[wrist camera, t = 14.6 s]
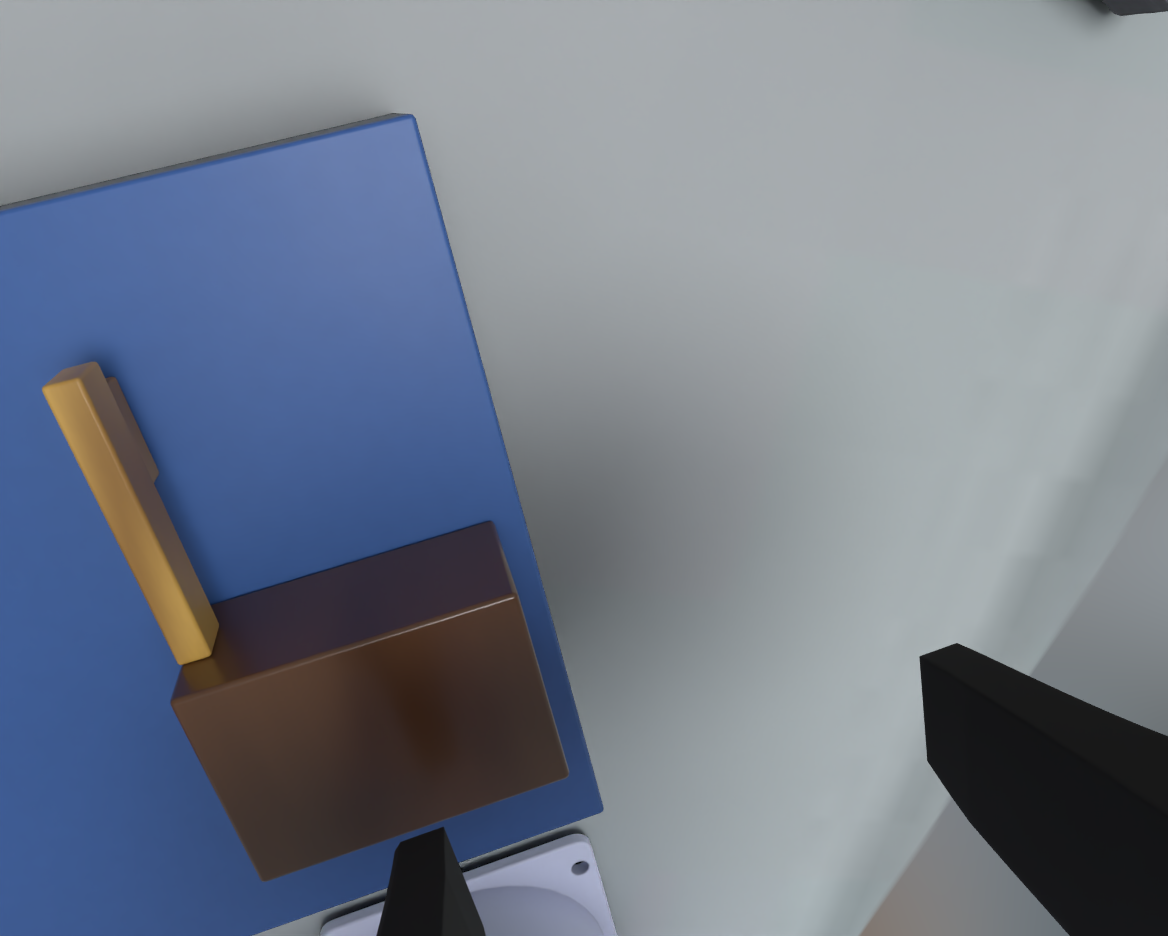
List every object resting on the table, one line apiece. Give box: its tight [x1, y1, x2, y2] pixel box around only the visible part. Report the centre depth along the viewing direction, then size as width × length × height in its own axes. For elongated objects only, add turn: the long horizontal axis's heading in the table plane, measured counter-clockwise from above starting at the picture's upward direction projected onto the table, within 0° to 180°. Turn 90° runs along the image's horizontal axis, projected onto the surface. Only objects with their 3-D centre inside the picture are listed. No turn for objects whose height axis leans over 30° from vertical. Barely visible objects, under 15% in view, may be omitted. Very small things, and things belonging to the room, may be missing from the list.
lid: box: [0, 114, 603, 936], centre depth 15 cm, size 13×14×1 cm
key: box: [42, 362, 569, 882], centre depth 13 cm, size 8×3×5 cm
